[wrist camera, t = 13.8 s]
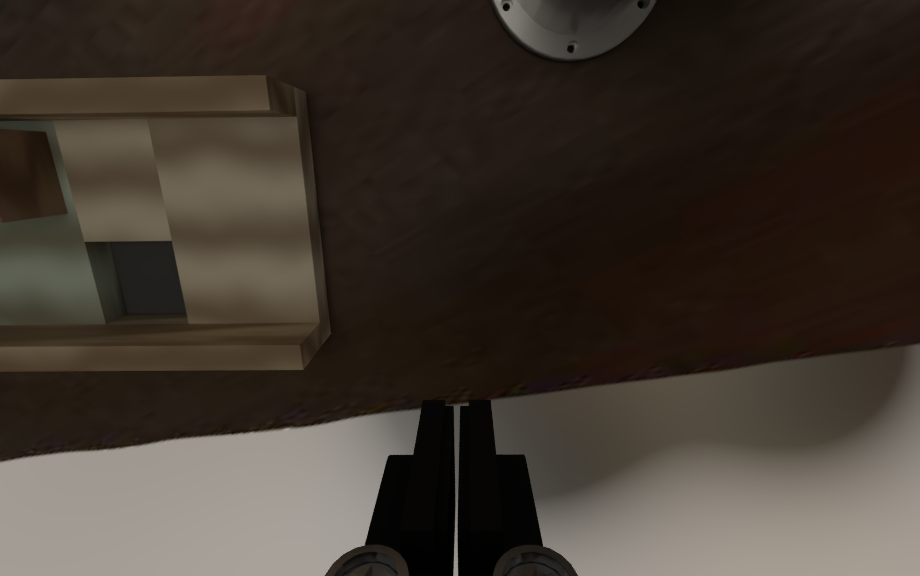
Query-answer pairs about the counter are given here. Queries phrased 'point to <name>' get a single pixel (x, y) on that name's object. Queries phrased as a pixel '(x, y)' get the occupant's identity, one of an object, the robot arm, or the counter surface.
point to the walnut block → (28, 177)
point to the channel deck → (167, 226)
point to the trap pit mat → (148, 277)
